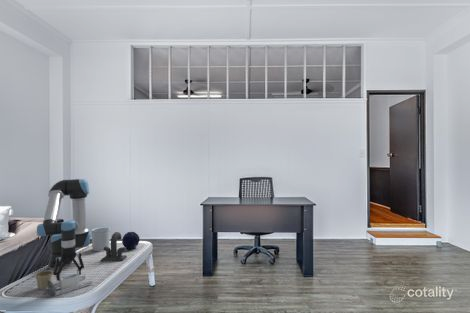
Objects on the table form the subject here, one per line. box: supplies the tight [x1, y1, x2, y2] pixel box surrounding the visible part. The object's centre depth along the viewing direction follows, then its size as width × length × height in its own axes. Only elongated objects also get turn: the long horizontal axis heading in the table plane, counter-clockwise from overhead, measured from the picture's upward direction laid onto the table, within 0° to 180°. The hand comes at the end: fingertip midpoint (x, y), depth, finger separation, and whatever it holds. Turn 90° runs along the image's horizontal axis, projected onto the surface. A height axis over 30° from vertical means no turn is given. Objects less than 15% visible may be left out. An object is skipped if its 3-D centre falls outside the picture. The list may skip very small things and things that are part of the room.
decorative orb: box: [121, 231, 140, 250], centre depth 256 cm, size 14×15×15 cm
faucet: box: [100, 231, 128, 262], centre depth 232 cm, size 18×16×20 cm
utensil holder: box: [91, 226, 111, 252], centre depth 256 cm, size 15×15×18 cm
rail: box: [47, 275, 93, 297], centre depth 179 cm, size 13×21×5 cm, turn 134°
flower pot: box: [34, 270, 54, 291], centre depth 179 cm, size 9×9×9 cm
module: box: [59, 272, 79, 290], centre depth 179 cm, size 6×9×6 cm, turn 129°
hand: (69, 282), depth 179 cm, fingers closed on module, 9 cm apart
